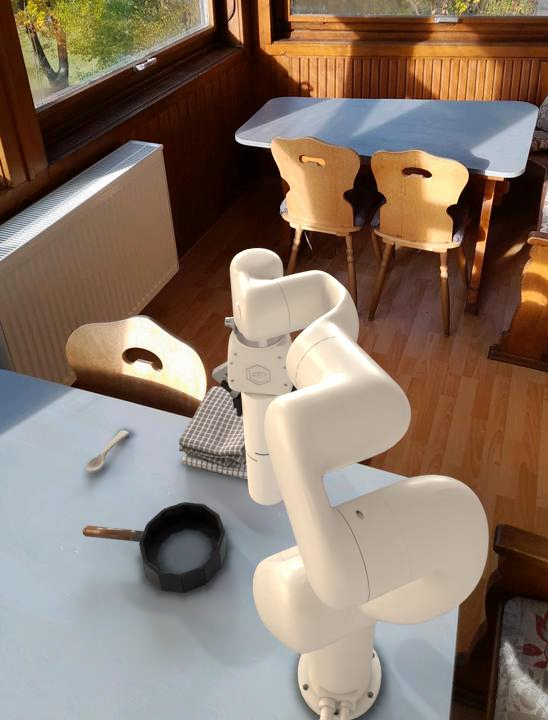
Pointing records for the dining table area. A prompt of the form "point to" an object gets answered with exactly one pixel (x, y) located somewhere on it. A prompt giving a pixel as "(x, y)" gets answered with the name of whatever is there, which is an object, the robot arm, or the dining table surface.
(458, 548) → the robot arm
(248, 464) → the cylindrical container
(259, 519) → the dining table surface
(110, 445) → the spoon
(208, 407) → the towel
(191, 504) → the pan
